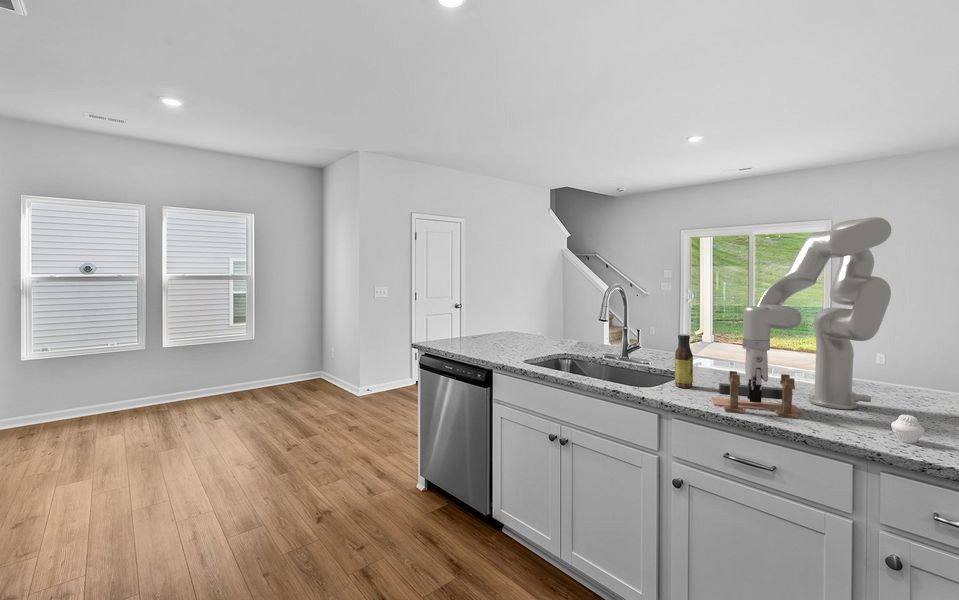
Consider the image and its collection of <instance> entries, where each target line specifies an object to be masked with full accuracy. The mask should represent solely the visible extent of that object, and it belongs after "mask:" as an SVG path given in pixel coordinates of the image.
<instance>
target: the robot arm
mask: <svg viewBox="0 0 959 600" xmlns="http://www.w3.org/2000/svg"><path fill="white" fill-rule="evenodd" d="M891 234H892V226H891V223H890V222H889V221H888V220H887V219H885V218H883V217H879V216H874V217H873V216H872V217H865V218H864V217H863V218H857V219H850V220H844V221H841V222H837V223H836V224H834V225H833V226H832V227H831V229H830V230H825V231H817V232H813V233H811V234H808V235H807V236H806V238H805V239H804V240H803V241H802V243H801V245H800V247H799V249H798V251H797V252H796V254H795V257H794V258H793V260H792V262H791V264H790V266H789V268H788V270H787V271H786V272H785V273H784V274H783V275H782V276H781V277H779V278H778V279H777V280H776V281H775V282H774V283H773V284H771V285H770V286H769V287H768V288H767V289H766V291H764V293H763V295H762V296H761V298H760V300H759V302H758V303H757V305H749V306H746V307H744V309H743V312H742V313H743V316H742V317H743V319H742V320H743V322H742V349H745V361H744V362H745V364H744V366H745V368H744V369H745V371H744V372H745V376H746V377H747V379H748V380H747V385H748V386H751V389H750V397H747V399H748V400H749V401H750V402H757V403H761V402H762V399H763V398H762V387H763V386H762V385H763V381H764V382H765V383H766V382H768V381H769V371H768V370H769V368H768V367H769V364H768V363H769V361H768V359H769V357H768V352H769V351H770V350H771V349H770V348H771V329H776V330H785V331H786V330H787V331H788V330H792V329H795V328H797V327H799V325H800V324H801V322H802V319H803V318H802V314H801V313H800V311H799V310H798V309H796V308H795V307H792V306H789V305H784V304H785V302H786V301H787V300H788V299H789V298H790V297H792V296H793V295H795V294H796V293H798V292H801V291H803V290H805V289H808V288H810V287H812V286H814V285H815V284H817V282H818V281H819V279H820V277H821V275H822V273H823V271H824V269H825V267H826V265H827V264H828V262H829V260H830V259H832V258H833V259H836V258H840V260H839V261H840V262H839V265H838V268H837V271H836V273H835V276H834V279H833V281H832V283H831V287H830V290H829V297H830V300H832V301H833V303H836V304H837V305H838V304H839V305H842V306H843V305H844V306H851V307H852V308H844V307H825V308H823V309H821V310H819V311H818V312H816V314H815V315H814V317H813V330H814V334H815V342H816V343H815V347H816V348H815V350H816V351H815V367H814V369H815V371H814V372H815V373H814V377H815V378H814V394H813V395H810V396H808V402H809V403H811V404H814V405H816V406H820V407H825V408H830V409H837V410H855V409H857V408H858V406H859V405H858V403H859V402H863V403H872V397H871V396H870V395H863V394H860V393H859V394H857V393H855V392H853V370H854V356H855V354H854V347H853V345H852V342H851V341H856V342H866V341H869V340H871V339H873V338H874V337H875V336H876V334H877V333H878V331H879V330H880V328H881V325H882V322H883V320H884V317H885V314H886V312H887V309H888V307H889V304H890V302H891V301H890V300H891V296H892V291H891V290H892V289H891V286H890V285H889V283H888V281H887V280H886V279H883V278H882V277H879V276H876V275H875V276H873V275H872V274H873V270H874V266H875V257H874V255H873V253H872V251H871V250H870V249H872V248H875V247H877V246H881V245H882V244H883V243H885V242H886V241H887V240H888V239H889V238H890V236H891Z"/></svg>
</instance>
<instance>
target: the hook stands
mask: <svg viewBox="0 0 959 600" xmlns="http://www.w3.org/2000/svg"><path fill="white" fill-rule="evenodd" d="M728 375H729V376H728V381H729V384H730V395H729V399H730V406H729V405H724V406H723V410H724V412H725V413H726V412H727V413H733V412H734V414H735V413H736V414H745V409H744V408H742V407H740V406H738V400H739V396H738V385H741V381H740V380H741V378H740V377H741V375H740V374H738V371H737V370H729V374H728ZM780 375H781V376H780V381H779V383H780V385H781V386H782V388H783V389H782V400H781V404H782V410H775V411H774V413H775V414H777V415H778V416H777V415H776V416H777V417H778V418H785V417H788V418H787V419H796V418H797V419H799V414H798V413H795V411H791V410H792V405H793V390H796V385H795V381H796V380H795V378H791V375H790V374H787V373H784V374H783V373H782V374H780Z"/></svg>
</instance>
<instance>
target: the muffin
mask: <svg viewBox="0 0 959 600" xmlns="http://www.w3.org/2000/svg"><path fill="white" fill-rule="evenodd" d="M918 421H919V420H918V418H917V417H915V416H913V415H909V414H901V415H899V416H898V418H897V419H896V420H895V421H893V422H891V423H890V427H891V429H892V432H893V433H894V435H895V437H896V439H897V441H899V442H901V441H902V442H901V443H904V442H905V443H906V444H912V443H914V444H916V443H917V442H918V441H919V440H920V439H921V438H922V437H923V435H924V433H925V428H924V427H923V426H922V425H921V423H920V422H918ZM912 445H913V444H912Z"/></svg>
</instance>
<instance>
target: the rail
mask: <svg viewBox="0 0 959 600" xmlns="http://www.w3.org/2000/svg"><path fill="white" fill-rule="evenodd" d="M750 389H751V386H748V384H744V385H743V384H740V385H738V397H750ZM782 389H783V387H771V386H762V398H761V399H769V400H770V399H771V400H779V401H780V400H781V401H782ZM718 393H719V395H725V396H730V383H722V382H721V383H720V382H719V383H718Z"/></svg>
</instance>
